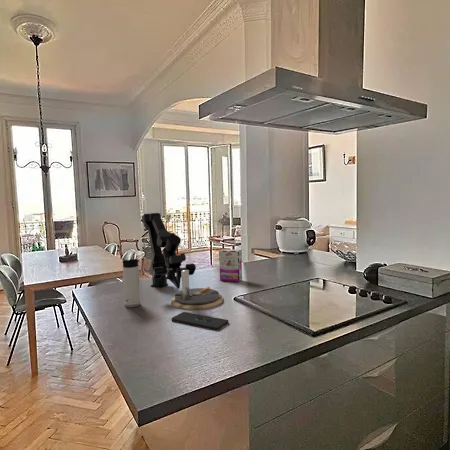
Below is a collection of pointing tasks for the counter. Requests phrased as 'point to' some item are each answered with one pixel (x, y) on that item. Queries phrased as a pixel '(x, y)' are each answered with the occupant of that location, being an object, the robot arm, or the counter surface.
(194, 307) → the oak stand
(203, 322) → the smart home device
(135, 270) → the travel mug
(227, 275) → the candy bar box
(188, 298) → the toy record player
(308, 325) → the counter surface
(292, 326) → the counter surface
